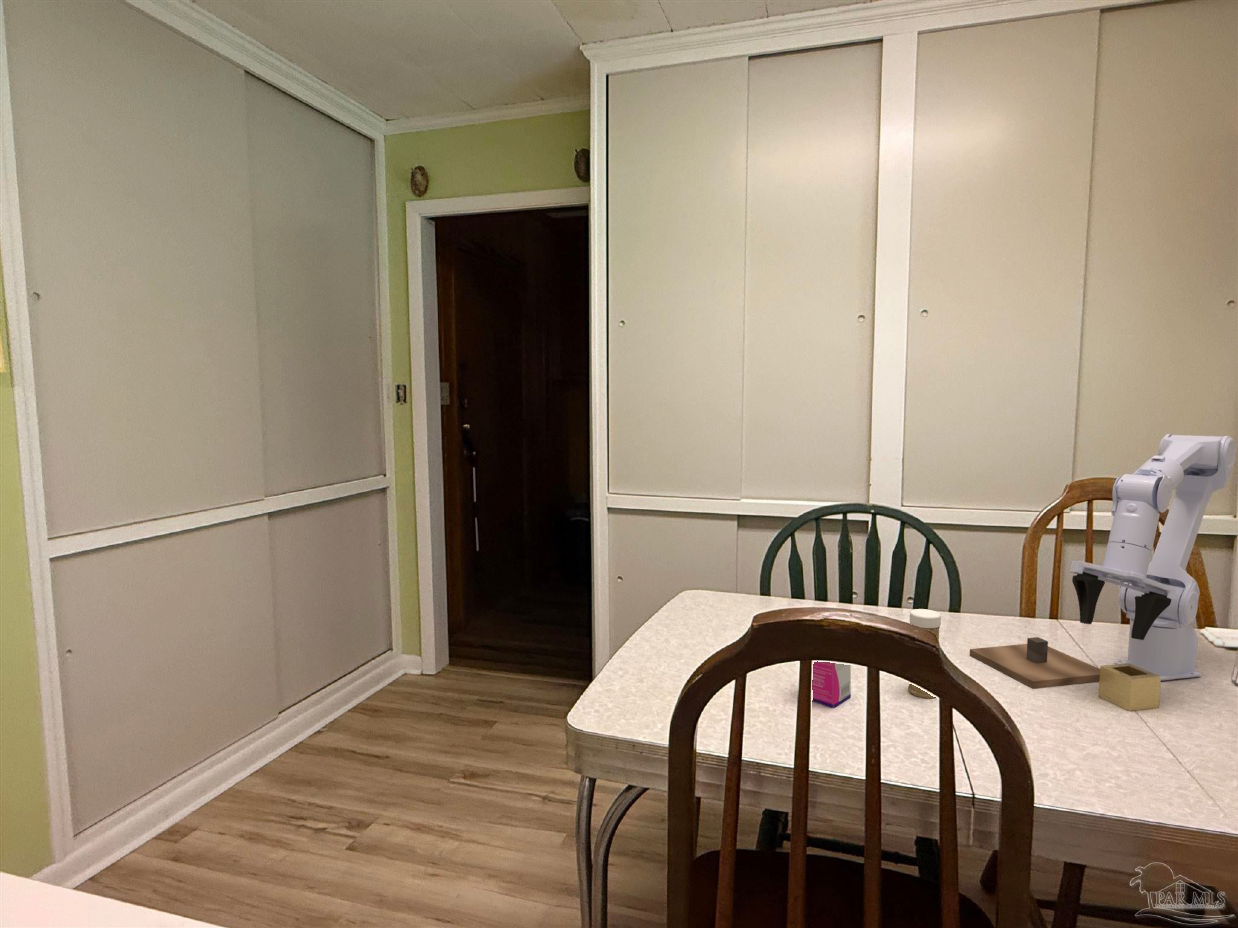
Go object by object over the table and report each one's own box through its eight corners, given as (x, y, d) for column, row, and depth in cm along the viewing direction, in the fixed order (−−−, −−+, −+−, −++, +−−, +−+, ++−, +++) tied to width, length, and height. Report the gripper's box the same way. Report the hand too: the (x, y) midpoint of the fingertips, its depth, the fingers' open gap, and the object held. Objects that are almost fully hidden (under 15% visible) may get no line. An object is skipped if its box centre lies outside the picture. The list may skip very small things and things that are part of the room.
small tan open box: (1126, 692, 113) (1128, 662, 112) (1158, 707, 107) (1160, 676, 107) (1098, 696, 111) (1100, 665, 111) (1129, 711, 106) (1131, 679, 106)
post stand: (1039, 648, 132) (1040, 622, 132) (1109, 680, 118) (1111, 651, 117) (969, 655, 129) (970, 629, 129) (1032, 688, 115) (1034, 658, 114)
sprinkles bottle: (943, 694, 113) (946, 613, 111) (927, 701, 110) (930, 618, 109) (918, 684, 116) (920, 606, 115) (901, 691, 114) (903, 611, 113)
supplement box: (818, 686, 116) (819, 619, 115) (851, 697, 112) (853, 627, 111) (799, 697, 112) (800, 628, 111) (833, 708, 108) (835, 636, 107)
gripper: (1095, 532, 108) (1075, 617, 106) (1196, 560, 106) (1178, 648, 104) (1071, 535, 115) (1053, 615, 113) (1166, 561, 113) (1148, 644, 111)
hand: (1111, 631), depth 109 cm, fingers open, 7 cm apart
